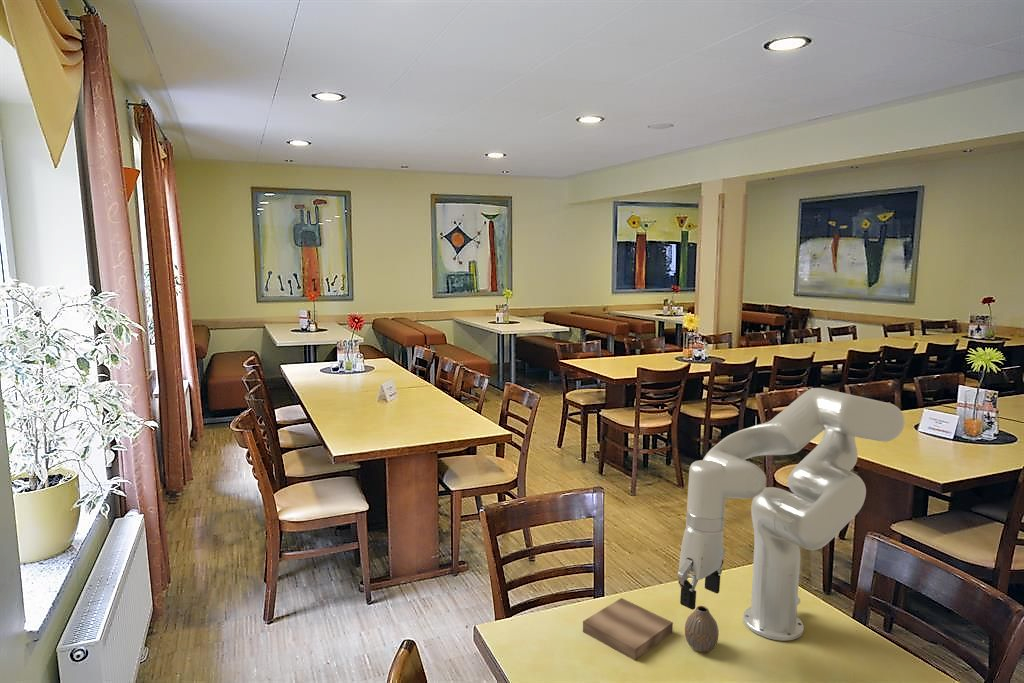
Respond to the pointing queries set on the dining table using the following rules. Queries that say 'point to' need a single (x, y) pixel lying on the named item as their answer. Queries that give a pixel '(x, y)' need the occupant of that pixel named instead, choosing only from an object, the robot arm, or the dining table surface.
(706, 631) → the vase
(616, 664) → the dining table surface
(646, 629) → the plinth
